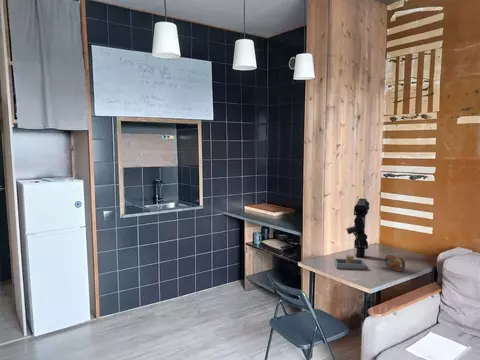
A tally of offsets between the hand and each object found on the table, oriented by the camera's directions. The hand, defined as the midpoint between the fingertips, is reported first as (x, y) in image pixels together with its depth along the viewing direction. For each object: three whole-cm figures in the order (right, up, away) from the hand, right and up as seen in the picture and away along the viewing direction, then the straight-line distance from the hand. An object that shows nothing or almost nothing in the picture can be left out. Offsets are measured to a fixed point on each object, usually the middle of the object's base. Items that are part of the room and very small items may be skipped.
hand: (359, 246), depth 248 cm
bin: (-9, -12, -9) cm, 17 cm away
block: (-9, -11, -9) cm, 17 cm away
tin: (+18, -13, -13) cm, 26 cm away
